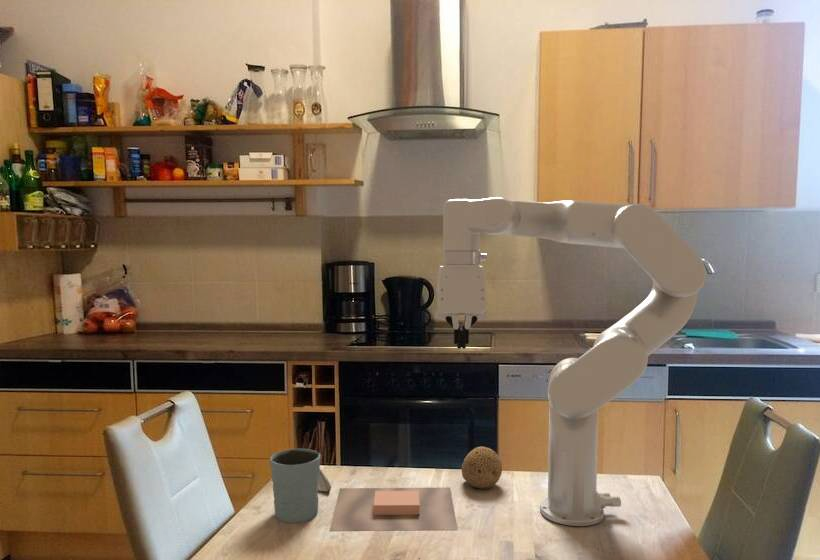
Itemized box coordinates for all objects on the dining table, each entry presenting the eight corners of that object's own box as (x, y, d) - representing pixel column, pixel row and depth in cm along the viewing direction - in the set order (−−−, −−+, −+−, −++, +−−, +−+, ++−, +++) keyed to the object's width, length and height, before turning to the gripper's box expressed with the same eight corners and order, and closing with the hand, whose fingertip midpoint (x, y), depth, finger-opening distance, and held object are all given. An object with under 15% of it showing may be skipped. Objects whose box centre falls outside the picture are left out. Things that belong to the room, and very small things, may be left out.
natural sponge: (502, 501, 136) (502, 455, 135) (460, 499, 137) (460, 454, 136) (501, 484, 145) (501, 441, 144) (461, 483, 146) (461, 440, 145)
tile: (418, 490, 133) (375, 491, 133) (419, 505, 126) (373, 505, 126) (418, 500, 133) (375, 500, 133) (419, 514, 126) (373, 515, 126)
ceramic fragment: (334, 496, 140) (334, 478, 140) (311, 500, 138) (311, 482, 137) (317, 475, 152) (316, 459, 152) (295, 479, 150) (295, 463, 150)
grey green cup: (278, 528, 124) (277, 468, 123) (265, 509, 133) (264, 452, 132) (328, 518, 128) (327, 459, 127) (312, 499, 137) (311, 444, 136)
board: (450, 494, 140) (450, 487, 140) (457, 537, 120) (457, 529, 120) (340, 494, 139) (339, 488, 139) (329, 538, 119) (329, 530, 119)
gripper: (495, 258, 136) (494, 344, 137) (424, 259, 136) (424, 344, 137) (500, 260, 128) (499, 350, 130) (425, 260, 128) (425, 351, 129)
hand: (461, 347), depth 133 cm, fingers closed
